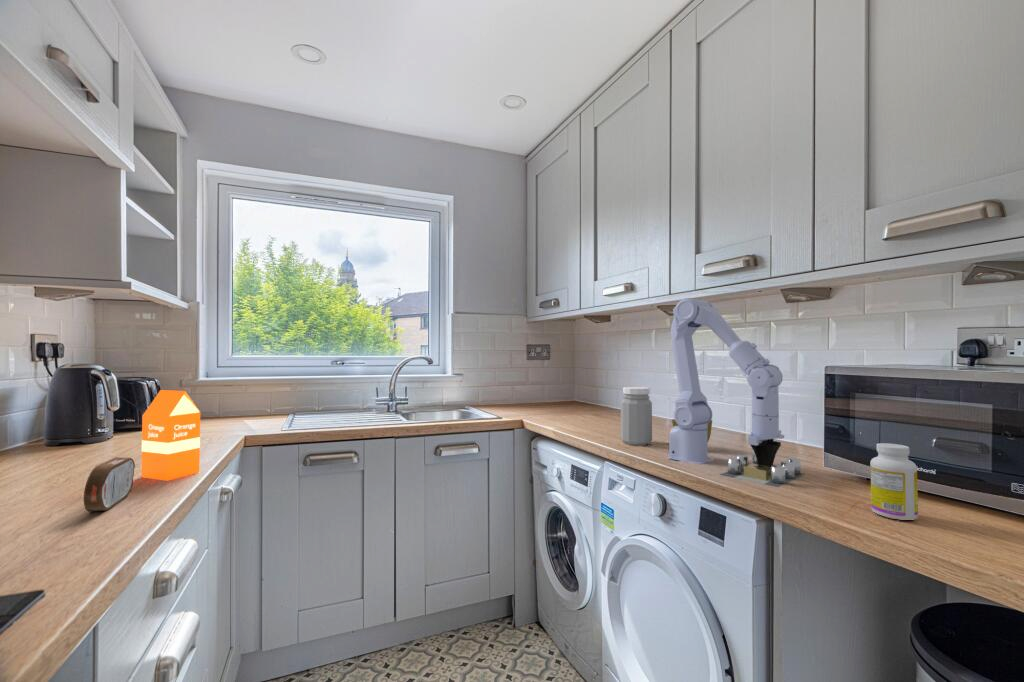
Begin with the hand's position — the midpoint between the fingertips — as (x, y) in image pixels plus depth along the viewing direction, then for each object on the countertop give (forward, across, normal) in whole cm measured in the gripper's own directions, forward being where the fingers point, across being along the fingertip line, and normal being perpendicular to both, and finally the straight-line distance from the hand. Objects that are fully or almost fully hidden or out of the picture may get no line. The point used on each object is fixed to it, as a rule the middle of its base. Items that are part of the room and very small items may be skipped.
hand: (765, 471), depth 111 cm
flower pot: (+1, +15, +27) cm, 31 cm away
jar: (+1, +9, +43) cm, 44 cm away
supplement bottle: (+1, -10, -26) cm, 28 cm away
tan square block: (+1, -4, 0) cm, 4 cm away
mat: (+1, -1, 0) cm, 1 cm away
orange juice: (+1, -110, +90) cm, 142 cm away
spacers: (+1, 0, 0) cm, 1 cm away
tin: (+1, -120, +72) cm, 140 cm away
